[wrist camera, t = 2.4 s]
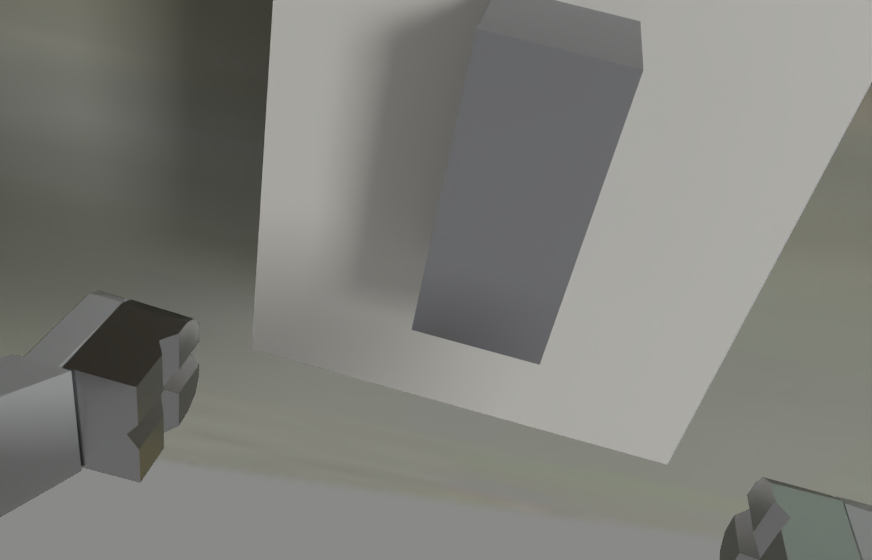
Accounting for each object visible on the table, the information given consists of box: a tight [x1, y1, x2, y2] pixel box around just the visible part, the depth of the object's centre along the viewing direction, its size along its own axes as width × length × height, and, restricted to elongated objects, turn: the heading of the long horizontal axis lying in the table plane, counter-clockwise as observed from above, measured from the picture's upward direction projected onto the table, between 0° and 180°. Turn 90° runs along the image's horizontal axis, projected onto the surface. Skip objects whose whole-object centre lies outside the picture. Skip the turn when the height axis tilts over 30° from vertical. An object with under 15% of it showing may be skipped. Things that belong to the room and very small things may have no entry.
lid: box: [252, 0, 872, 464], centre depth 18 cm, size 17×13×5 cm
